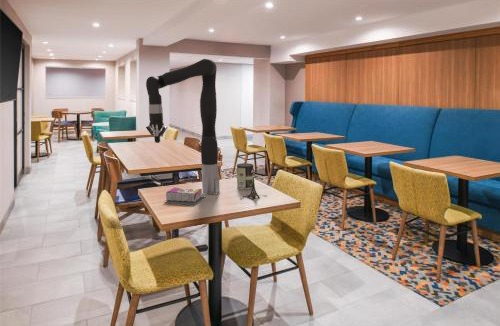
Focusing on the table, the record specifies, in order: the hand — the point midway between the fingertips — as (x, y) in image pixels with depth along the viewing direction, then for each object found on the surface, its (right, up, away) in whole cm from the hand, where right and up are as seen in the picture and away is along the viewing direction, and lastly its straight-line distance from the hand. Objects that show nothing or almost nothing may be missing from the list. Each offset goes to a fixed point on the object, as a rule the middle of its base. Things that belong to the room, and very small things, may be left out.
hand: (157, 142), depth 215 cm
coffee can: (+50, -27, +14) cm, 59 cm away
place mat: (+19, -32, -13) cm, 39 cm away
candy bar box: (+9, -29, -11) cm, 32 cm away
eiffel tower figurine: (+56, -32, -9) cm, 65 cm away
